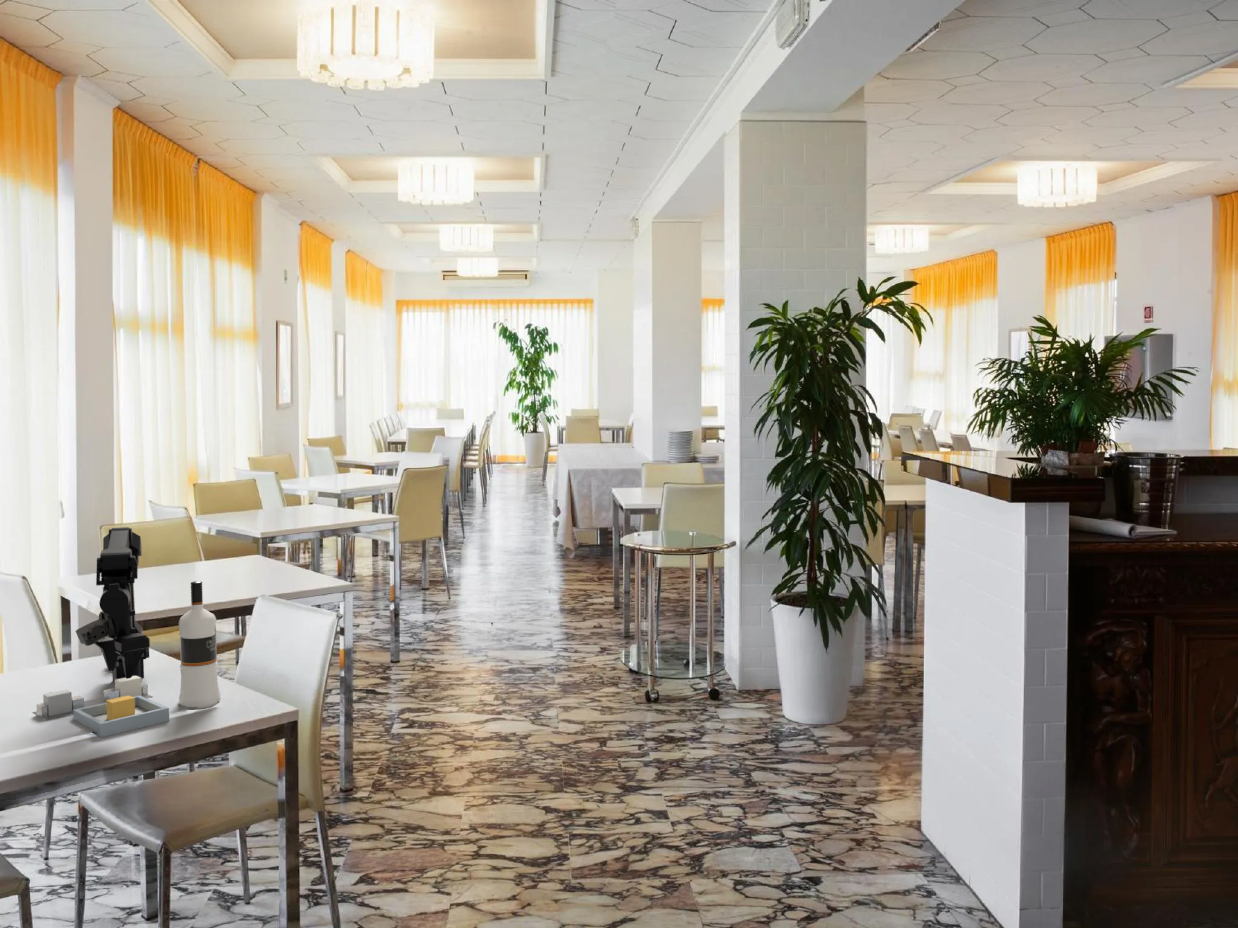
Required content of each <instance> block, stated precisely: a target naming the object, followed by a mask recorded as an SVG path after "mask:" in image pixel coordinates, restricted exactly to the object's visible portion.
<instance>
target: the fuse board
mask: <svg viewBox="0 0 1238 928" xmlns="http://www.w3.org/2000/svg"><path fill="white" fill-rule="evenodd" d="M148 688H149V685H148V684H147V683H145V682H143V681H141V689H142V696H143V697H145V698H147V699H151V698H154V696H152V695H150V694H149V692H148V691H149V689H148ZM115 698H119V690H117V689H115V687H114V688H113V687H112V688H108V689H103V696H101V697H96V698H92V699H87V700H85V698H84V697H83V696H81V695H75V696H74V695H73V696H72V711H70V712H66V713H61V714H57V715H52V716H48V715H47V705H45V704H44V703H36V704H35V705H36V711H32V712H31V713H32V714H34V715H36V716H37V717H39V718H41V719H43V720H44V721H51V720H57V719H61V718H66V717H69V716H73V710H75V709H79V708H84V707H89V706H93V705H98V704H102V703H106V700H110V699H115Z"/></svg>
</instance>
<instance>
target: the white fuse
mask: <svg viewBox="0 0 1238 928" xmlns="http://www.w3.org/2000/svg"><path fill="white" fill-rule="evenodd" d="M141 682H142V678H141V677H138V676H132V677H131V678H129V679H126V678H121V679H116V680H115V682H114V688H115V689H117V690H119V697H124V696H128V695H129V696H131V697H134V696H139V695H140V696H142V689H141Z"/></svg>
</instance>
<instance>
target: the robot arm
mask: <svg viewBox="0 0 1238 928" xmlns="http://www.w3.org/2000/svg"><path fill="white" fill-rule="evenodd" d="M142 551H143V550H142V539H141V536H140V535H139V534H137V533H135V532H133V529H132V527H128V526H127V527H126V526H125V527H123V526H122V527H112V528H108V533H107V534H106V535H105V536H104V537H103V539H102V551H101V552H100V555H99V557H97V558H96V575H95V577H96V581H95V585H96V587H97V586H103V587H102V593H101V596H100V599H99V608H100V609H101V611H100V612H99V614H98V619H96V620H94V621H90V622H89V623H87V624H85V625H82V626H81V627H80V628H78V629H76V630H75V634H76V635H77V638H78V640H79V643H80V644H81V645H85V646H87V647H89V646H92V645H95V646H96V647H97V648H99V649H100V651H101V653H102V654H101V655H102V657H103V659H104V662H105V665H106V669H107V671H108V672H112V673H111V675H112V676H111V677H112V682H114V683H115V680H116V679H121V678H126V679H129V678H131V677H132V676H138V677H141V679H144V678H145V668H144V667H145V665H144V664H145V663H144V660H147V659H149V658H150V646H151V644H150V641H151V640H150V638H149V637H148V636H147V635H146V634H144V633H143V627H142V625H141V624H140V623H139V622H138V621H137V620H136V608H135V607H136V606H135V603H136V602H135V589H134V588H135V586H134V585H135V581H136V580H137V579H138V578H139V577H138V575H139V574H138V573H139V571H138V569H139V567H138V566H139V563H140V562H139V560H140V557H142V554H143V553H142Z"/></svg>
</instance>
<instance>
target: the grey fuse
mask: <svg viewBox="0 0 1238 928" xmlns="http://www.w3.org/2000/svg"><path fill="white" fill-rule="evenodd" d="M42 696H43V698H42V700H43V704H45V705H47V715H48V716H52V715H57V714H61V713H66V712H70V711H72V697H73V695H72V691H70V690H68V689H62V690H58V691H52V692H48V693H43V695H42Z"/></svg>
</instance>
